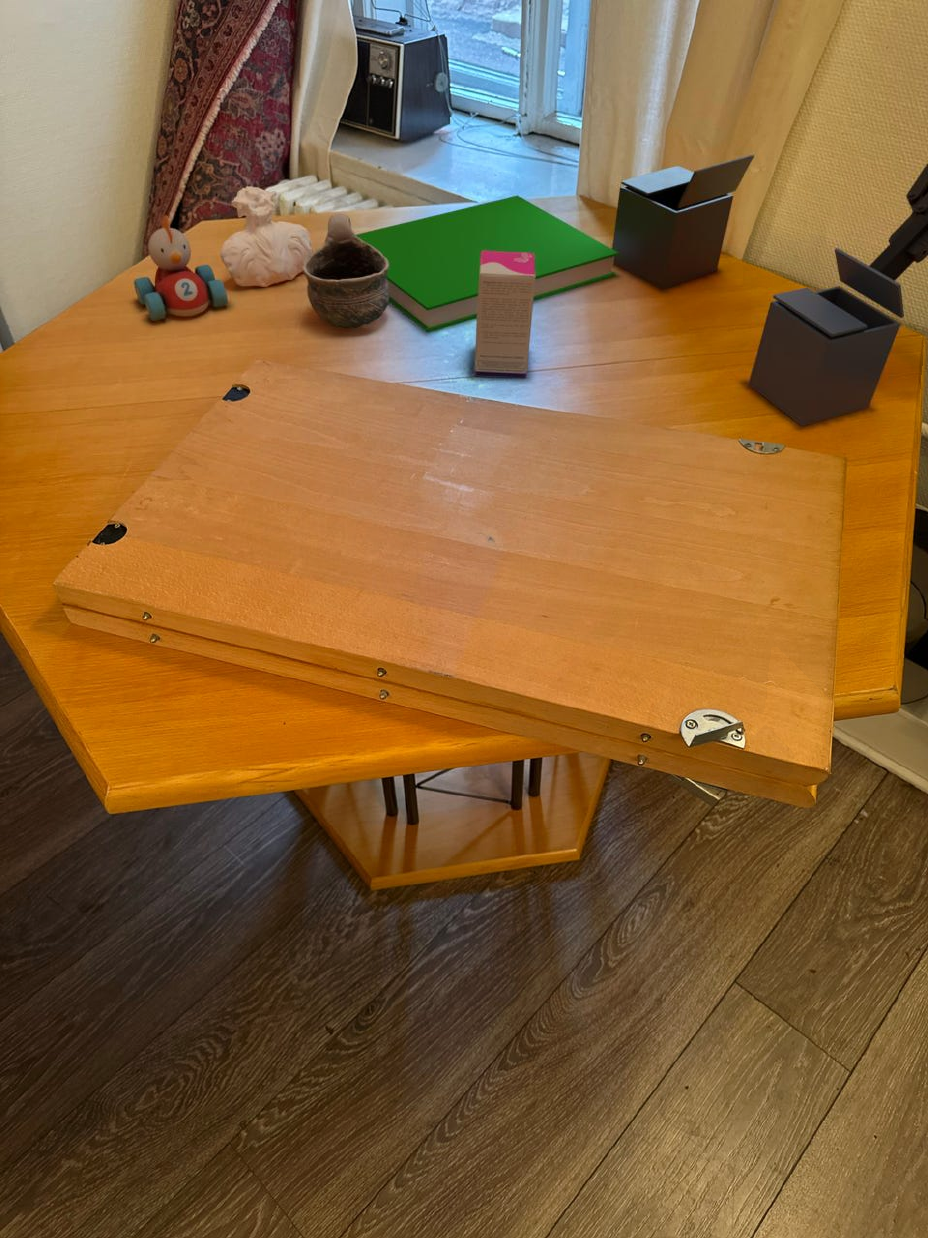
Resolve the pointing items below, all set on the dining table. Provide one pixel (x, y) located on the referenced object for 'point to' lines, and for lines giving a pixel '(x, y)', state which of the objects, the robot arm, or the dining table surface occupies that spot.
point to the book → (450, 257)
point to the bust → (264, 243)
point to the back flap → (715, 181)
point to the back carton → (668, 229)
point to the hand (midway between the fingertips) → (875, 279)
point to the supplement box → (504, 313)
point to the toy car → (177, 278)
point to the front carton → (821, 353)
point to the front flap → (870, 282)
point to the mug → (346, 277)
